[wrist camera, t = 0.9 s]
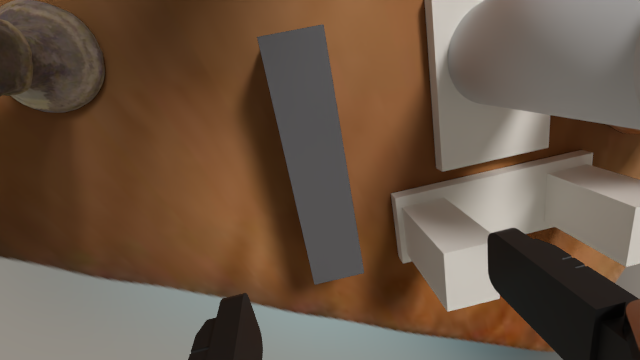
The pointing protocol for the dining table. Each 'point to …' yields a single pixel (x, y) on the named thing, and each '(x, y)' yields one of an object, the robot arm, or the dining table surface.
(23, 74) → the decorative bust
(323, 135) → the gray bar
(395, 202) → the display stand
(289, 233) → the dining table surface
